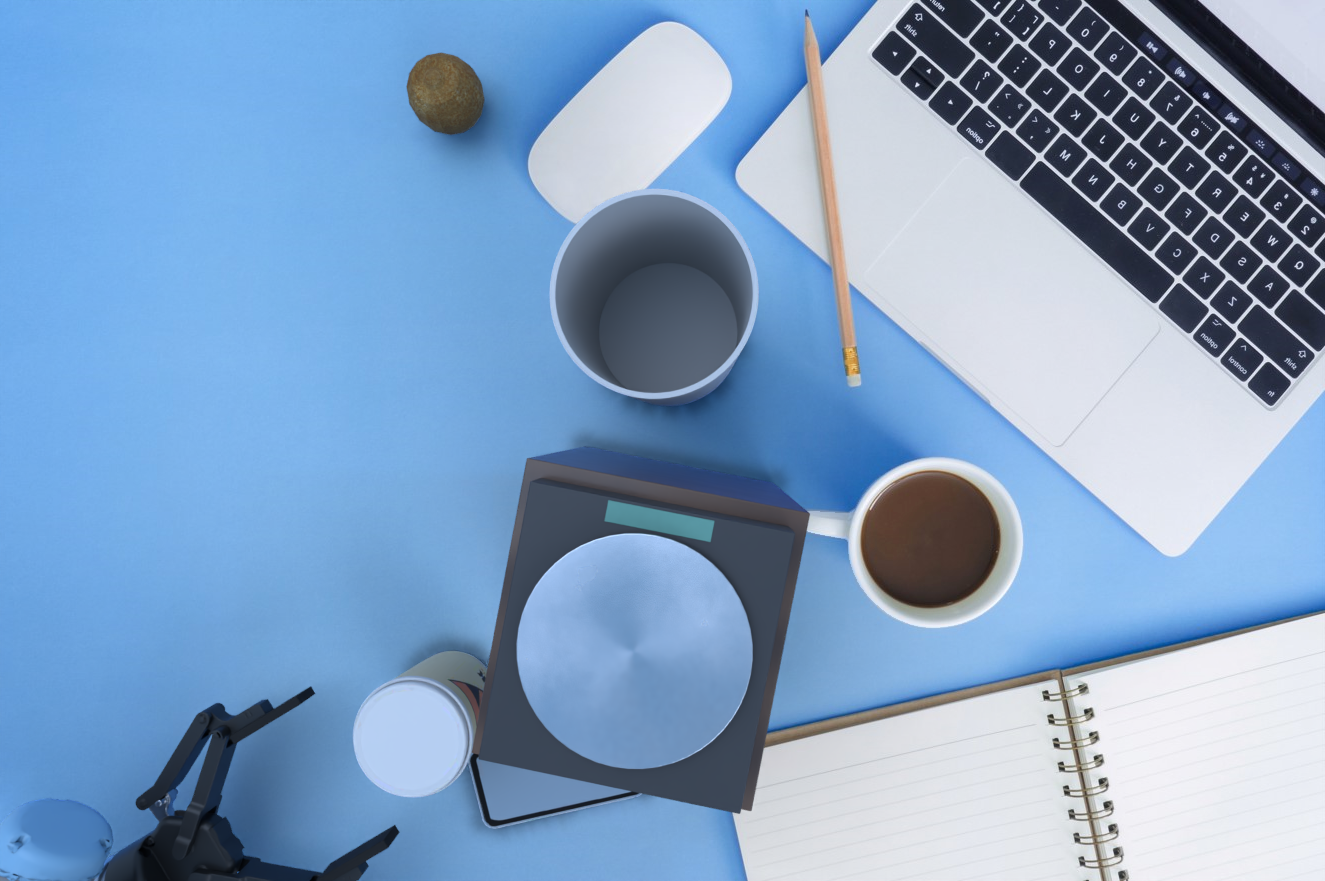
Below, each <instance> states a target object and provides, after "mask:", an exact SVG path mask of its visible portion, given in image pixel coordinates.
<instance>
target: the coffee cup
mask: <svg viewBox="0 0 1325 881" xmlns="http://www.w3.org/2000/svg"><path fill="white" fill-rule="evenodd" d="M487 668H488V666H486V665H485V664H484V663H483V662H482V661H481V659H478V658H477V657H476V656H474V655H472V654H470V653H468V652H464V651H459V650H445V651H444V650H443V651H440V652H438V653H435V654H433V655H431V656H428V657H427V658H425V659H424V660H422V661H420V662H418V663H417V664H415V665H413V666H412V667H411V668H408V669H407V670H405V671H404V672H402V673H401V674H399V675H398V676H396V677H394V678H392V679H390V680H388V681H386V682H384V683H382V684H381V685H379V686H377V687H376V688H375V689H374V690H373V691H371V693H370V694H369V695H368V696H367V697H366V698H365V699H364V701H363V702H362V703H361V705H360V707H359V709H358V711H357V713H356V716H355V719H354V723H353V728H352V745H353V750H354V755H355V758H356V760H357V763H358V765H359V767H360V769H361V771H362V773H364V775H365V776H366V777H367V779H368V780H369V781H370V782H371V783H372V784H374V785H375V786H376V787H377V788H379V789H381V790H382V791H384V792H386V793H389V794H390V795H394V796H397V797H402V798H403V797H404V798H423V797H428V796H432V795H435V794H437V793H441V791H443V790H445V789H447V788H448V787H450V786H451V785H452V784H453V783H454V782H455V781H456V780H457V779H458V778H459V777H460V776H461V774H463V772H464V771H465V769H466V767H467V765H468V761H469V758H470V756H471V752H472V748H473V743H474V737H475V732H476V727H477V721H478V716H479V711H480V705H481V700H482V695H483V689H484V684H485V679H486V673H487Z"/></svg>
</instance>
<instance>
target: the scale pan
mask: <svg viewBox="0 0 1325 881" xmlns="http://www.w3.org/2000/svg"><path fill="white" fill-rule="evenodd" d="M516 648H517V665H518V672H519V676H520V680H521V684H522V687H523V690H524V692H525V695H526V697H527V700H528V702H529V704H530V706H531V707H532V709H533V711H534V712H535V714H536V716H537V717H538V718H539V720H540V721H541V722H542V724H543V725H544V726H545V728H546V729H547V730H548V731H549V732H550V733H551V734H552V735H553V736H554V737H555V738H556V739H557V740H559V741H560V742H561V743H563V744H564V745H565V746H566V747H568V748H569V749H571V750H572V751H574V752H576V753H578V754H579V755H581V756H583V757H585V758H587V759H590V760H592V761H595V762H597V763H601V764H604V765H608V766H611V767H618V768H625V769H646V768H655V767H660V766H664V765H668V764H672V763H675V762H677V761H680V760H682V759H685V758H687V757H689V756H691V755H693V754H694V753H696V752H698V751H700V750H701V749H702V748H704V747H705V746H706V745H708V744H709V743H710V742H712V741H713V740H714V739H715V738H716V737H717V736H718V735H719V734H720V733H721V732H722V731H723V730H724V729H725V728H726V726H727V725H728V724H729V723H730V721H731V720H732V719H733V717H734V716H735V714H736V712H737V710H738V709H739V707H740V705H741V703H742V701H743V698H744V696H745V693H746V691H747V688H748V684H749V680H750V677H751V670H752V663H753V642H752V635H751V628H750V624H749V621H748V617H747V613H746V610H745V608H744V606H743V603H742V601H741V599H740V597H739V595H738V593H737V591H736V590H735V588H734V586H733V585H732V583H731V582H730V581H729V579H728V578H727V577H726V576H725V574H724V573H723V572H722V571H721V570H720V569H719V568H718V567H717V566H716V565H715V564H714V563H713V562H712V561H711V560H710V559H708V558H707V557H706V556H704V555H703V554H702V553H700V552H699V551H697V550H696V549H694V548H692V547H690V546H689V545H687V544H685V543H682V542H680V541H678V540H675V539H673V538H669V537H666V536H662V535H658V534H652V533H644V532H623V533H616V534H610V535H606V536H602V537H599V538H595V539H593V540H590V541H588V542H586V543H583V544H581V545H579V546H578V547H576V548H574V549H573V550H571V551H569V552H568V553H567V554H565V555H564V556H563V557H561V558H560V559H559V560H557V561H556V562H555V563H554V564H553V565H552V566H551V567H550V568H549V569H548V570H547V571H546V572H545V573H544V575H543V576H542V577H541V579H540V580H539V581H538V583H537V584H536V585H535V587H534V589H533V591H532V592H531V594H530V596H529V598H528V600H527V602H526V605H525V607H524V610H523V612H522V615H521V619H520V623H519V627H518V634H517V643H516Z"/></svg>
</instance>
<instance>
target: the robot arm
mask: <svg viewBox="0 0 1325 881" xmlns="http://www.w3.org/2000/svg"><path fill="white" fill-rule="evenodd" d="M314 695H316V692H315V690H314V688H313V687H312V686H311V685H310V686H309V687H307V688H305V689H303V690H302V691H301V692H299V693H297V694H296V695H294V696H292V697H291V698H289V699H287V700H286V701H284V702H282V703H281V704H279V705H278V706H276V707H273V705H272V703H271V701H270V700H269V698H266V699H261V700H260V701H258V702H256V703H254V704H253V705H251V706H250V707H248V708H245V709H244V710H242V711H241V712H239V713H238V714H230V713H229V712H227V710H226V707H225V705H224V704H223V703H221V702H215V703H214V704H212V705H210V706H208V707H206V708H205V709H203V710H201V711H200V712H198V713H197V714H196V715H195V717H194V718H193V720H192V722H191V723H190V725H189V726H188V728H187V729H186V731H185V732H184V734H183V736H182V738H181V739H180V741H179V743H178V744H177V746H176V748H175V749H174V751H173V753H172V754H171V756H170V758H169V759H168V761H167V763H166V764H165V766H164V767H163V769H162V771H161V772H160V774H159V776H158V777H157V779H156V780H155V781H154V784H153V785H152V786H151V787H149V788H148V789H147V790H145V791H144V792H143V793H142V794H140V795H139V796H138V797H137V798H136V799H135V803H134V804H135V807H136V808H137V809H138V810H139V811H146V810H148V809H149V811H150V812H151V814H152V815H153V816H154V817H155V819H156V820H157V822H158V823H157V826H156V827H155V828H154V829H153V830H151V831H150V832H148V833H146V834H145V835H143V836H141V837H140V838H138V839H137V840H135V841H133V842H132V843H130V844H128V845H126V846H124V848H122V849H120V850H119V851H118V852H116V853H115V854H112V855H110V856H109V854H110V852H111V850H112V848H113V843H114V834H113V829H112V827H111V825H110V824H109V822H108V821H107V820H106V818H105V817H104V816H103V814H101V813H100V812H99V811H98V810H97V809H95V808H93V807H91V806H89V805H87V804H85V803H83V802H80V801H77V800H73V799H59V798H57V799H56V798H52V797H46V798H39V799H35V800H31V801H28V802H26V803H23V804H21V805H19V806H17V807H16V808H14V809H13V810H11V811H10V812H9V813H8V814H7V815H6V816H5V817H4V818H3V819H2V821H1V823H0V881H359V880H360V879H361V878H362V876H363V875H364V874H365V872H366V871H367V870H368V868H369V867H370V865H369V864H368V861H369V860H371V859H372V858H374V857H376V856H377V855H379V854H380V853H382V852H384V851H386V850H387V849H389V848H390V846H391V845H392V844H393V842H394V841H395V839H396V838H397V837H398V836H399V834H400V830H399V828H398V827H397V825H396V824H393V825H392V826H391V827H389V828H387V829H385V830H383V831H382V832H380V833H379V834H377V835H375V836H373V837H372V838H370V839H368V840H366V841H365V842H362V844H360V845H359V846H357V847H355V848H353V849H351V850H350V851H348V852H347V853H345V854H343V855H342V856H340V857H338V858H336V859H334V860H333V861H332V862H330V863H329V864H328V865H327V866H326V868H325V869H324V870H323V871H315V870H310V869H305V868H298V867H292V866H288V865H282V864H276V863H272V862H266V861H262V859H261V858H260V857H257V856H252V855H247V854H244V851H243V850H244V849H245V845H244V844H243V842H242V841H241V839H239V838H238V837H237V836H236V834H234V832H233V829H232V825H231V823H230V821H229V819H228V818H227V816H224V817H222V815H219V814H218V812H219V809H220V806H221V802H222V800H223V795H222V791H223V789H224V786H225V782H226V780H227V777H228V774H229V770H230V766H231V763H232V760H233V758H234V754H235V751H236V748H237V744H238V743H240V742H241V741H242V740H244V739H246V738H248V737H249V736H251V735H253V734H254V733H256V732H257V731H260V730H261V729H262V728H264V727H266V726H268V725H269V724H270V723H272V722H274V721H275V720H277V719H279V718H280V717H282V716H284V715H286V714H287V713H289V712H291V711H292V710H294V709H296V708H298V707H299V706H301V705H302V704H303V703H305V702H306V701H308V700H309V699H311V698H312V697H313V696H314ZM209 740H210V741H209ZM208 741H209V745H208V748H207V751H206V754H205V757H204V760H203V763H202V767H201V769H200V773H199V775H198V779H197V782H196V785H195V788H194V792H193V796H192V798H191V801H190V803H189V804H188V806H187V807H186V809H176V810H175V809H174V803H175V801H176V800H177V797H178V794H179V789H178V787H179V786H180V785H181V783H183V782H184V780H185V779H186V777H187V776H188V774H189V773H190V771H191V769H192V767H193V766H194V764H195V762H196V761H197V759H198V757H199V756H200V754H201V753H202V751H203V749H204V748H205V746H206V745H207V743H208Z"/></svg>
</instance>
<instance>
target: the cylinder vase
mask: <svg viewBox="0 0 1325 881" xmlns="http://www.w3.org/2000/svg"><path fill="white" fill-rule="evenodd" d="M759 290H760V288H759V278H758V271H757V267H756V264H755V261H754V258H753V254H752V253H751V250H750V248H749V245H748V243H747V242H746V240H745V239H744V237H743V235H742V233H741V232H740V231H739V230H738V228H737V227H736V226H735V225H734V224H733V223H732V221H730V219H729V218H728V217H727V216H726V215H724V214H723V213H722V212H721V211H720V210H719V209H717V208H716V207H715V206H713V205H712V204H710V203H708V202H706V201H705V200H703V199H701V198H698V197H697V196H695V195H692V194H688V193H686V192H683V191H678V190H674V189H667V188H644V189H643V188H642V189H636V190H631V191H627V192H623V193H621V194H618V195H615V196H613V197H611V198H609V199H606V200H604V201H603V202H600V203H599V204H598V205H596V206H595V207H594V208H592V209H591V210H589V211H588V212H587V213H586V214H584V215H583V217H581V219H579V221H577V223H575V224H574V226H573V228H572V229H571V230H570V231H569V232H568V234H567V236H566V237H565V239H564V240H563V242H562V244H561V245H560V248H559V250H558V251H557V254H556V257H555V260H554V263H553V266H552V270H551V275H550V282H549V307H550V314H551V319H552V322H553V326H554V329H555V332H556V334H557V337H558V339H559V341H560V343H561V345H562V346H563V349H564V350H565V352H566V353H567V354H568V356H569V357H570V359H571V360H572V361H573V362H574V364H575V365H576V366H577V367H578V368H579V369H580V370H581V371H582V372H583V373H584V374H586V375H587V376H588V377H589V378H590V379H592V380H593V381H595V383H598V384H599V385H601V386H603V387H605V388H607V389H608V390H611V391H613V392H616V393H618V394H621V395H624V396H627V397H629V398H632V399H635V400H637V401H640V402H643V403H646V404H650V405H654V406H658V407H659V406H661V407H676V406H683V405H687V404H691V403H694V402H696V401H699V400H701V399H703V398H704V397H706V396H708V395H709V394H710V393H712V392H713V391H715V390H716V389H717V388H718V387H719V386H721V384H722V383H723V382H724V381H725V379H726V378H727V377H728V376H729V374H730V372H731V371H732V369H733V367H734V366H735V364H736V362H737V361H738V359H739V357H740V355H741V353H742V352H743V350H744V348H745V346H746V344H747V343H748V340H749V338H750V336H751V334H752V331H753V328H754V326H755V322H756V319H757V314H758V308H759V300H760V299H759V296H760V293H759Z"/></svg>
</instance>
